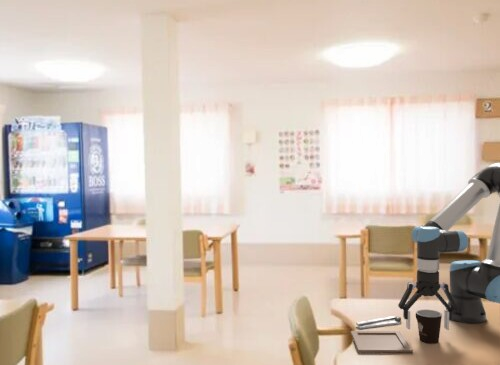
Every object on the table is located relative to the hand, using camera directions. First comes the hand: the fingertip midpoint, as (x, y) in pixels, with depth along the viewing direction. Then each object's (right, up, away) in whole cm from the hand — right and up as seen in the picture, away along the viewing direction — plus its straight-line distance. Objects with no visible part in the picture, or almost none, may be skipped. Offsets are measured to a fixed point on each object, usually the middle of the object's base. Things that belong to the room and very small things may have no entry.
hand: (427, 328), depth 173 cm
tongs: (-13, -4, +16) cm, 21 cm away
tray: (-18, -5, -2) cm, 18 cm away
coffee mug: (0, -4, 0) cm, 4 cm away
